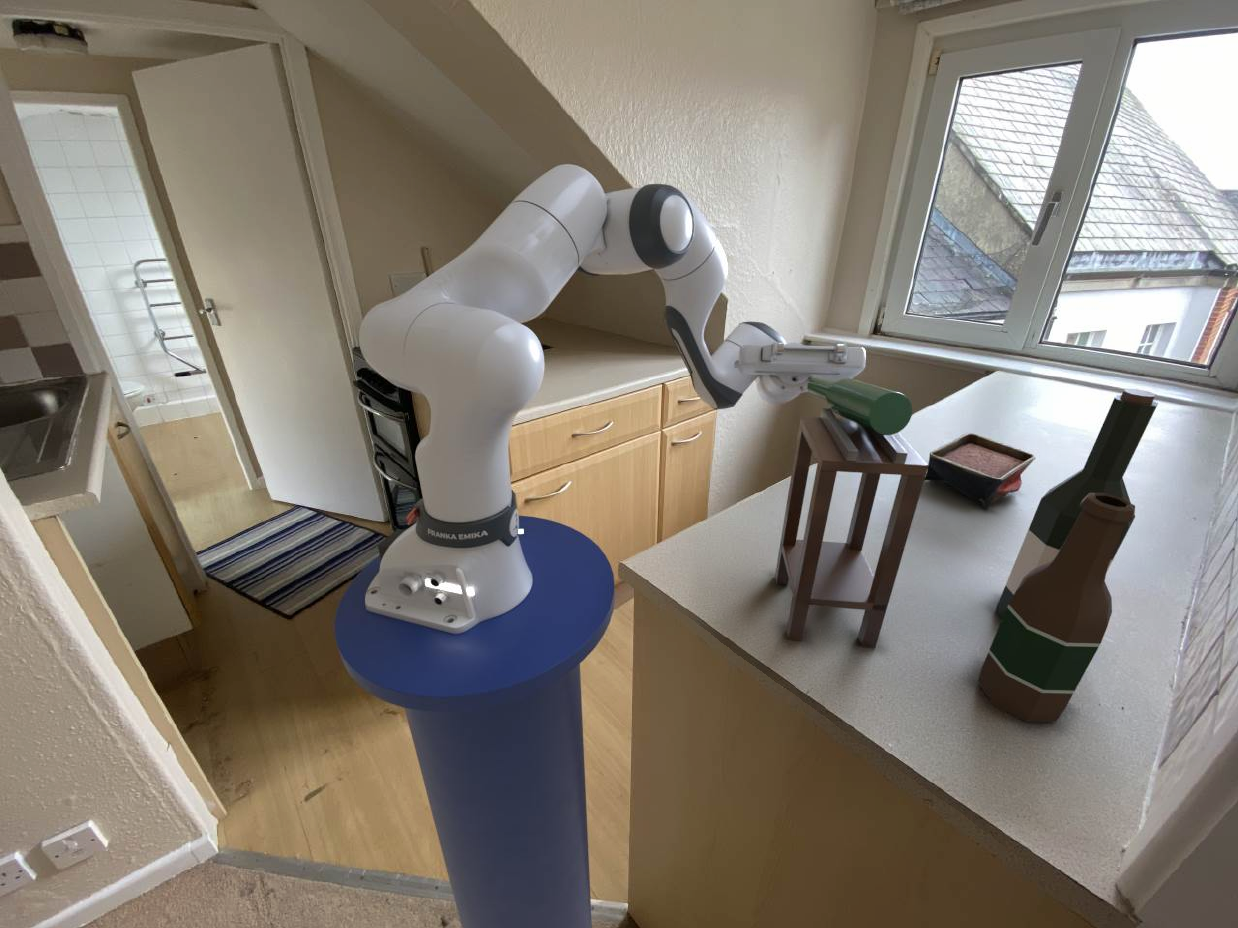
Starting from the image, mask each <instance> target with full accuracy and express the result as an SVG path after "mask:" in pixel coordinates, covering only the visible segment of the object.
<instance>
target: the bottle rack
mask: <svg viewBox="0 0 1238 928" xmlns="http://www.w3.org/2000/svg"><path fill="white" fill-rule="evenodd" d="M797 432H798V433H797V439H796V446H795V450H794V451H795V452H794V458H793V463H792V470H791V476H790V481H789V487H788V493H787V500H786V506H785V511H784V512H785V513H784V518H783V525H782V529H781V536H780V543H779V549H778V554H777V561H776V567H775V573H774V580H775V584H776V585H783V586H784V585H785V586H788V585H789V584H790V585H789V586H790V589H791V592H792V597H791V598H792V599H791V604H790V610H789V614H788V619H787V626H786V635H787V638H788V639H787V640H788V641H799V642H802V641H803V638H804V633H805V628H806V623H807V618H808V613H809V609H810V606H814V607H828V608H837V609H838V608H839V609H851V610H861V611H864V612H863V616H862V620H861V624H860V627H859V631H858V635H857V639H858V641H859V643H860V646H861V647H864V648H872V649H873V648H874V649H875V648H876V647H877V644H878V641H879V638H880V633H881V630H882V627H883V623H884V620H885V617H886V613H887V610H888V606H889V603H890V600H891V596H892V592H893V589H894V585H895V582H896V578H897V575H898V572H899V568H900V565H901V561H902V558H903V555H904V551H905V548H906V545H907V541H908V538H909V534H910V531H911V528H912V524H913V522H914V521H913V520H914V517H915V515H916V510H917V508H918V507H917V506H918V503H919V500H920V496H921V493H922V490H923V487H924V486H923V485H924V483H925V481H926V480H925V476H926V474H927V469H928V464H927V462H926V461H925V460H924V458H922V457H921V455H920V454H919V453H918V452H917V450H915V449H914V448H913V446H911V444H910V443H909V442H908V441H907V440H906V439H905V438H904V436H902V434H901V432H898V433H896V434H893V435H882V434H879V433H877V432H875V431H872V430H870V429H868V428H866V427H864V426H861V425H859V424H857V423H855V422H853V421H851V420H848V419H846V418H838V417H836V415H835V413H834V412H832V411H831V409H830V408H829V407H828V408H824V407H822V408H821V410H820V417H813V416H800V420H799V427H798V431H797ZM812 456H813V457H814V459H815V461H816V463H817V465H816V468H815V469H816V470H815V475H814V480H813V486H812V491H811V497H810V500H809V501H810V502H809V506H808V513H807V517H806V522H805V528H804V534H803V539H798V538H797V537H798V532H799V526H800V521H801V515H802V510H803V505H804V499H805V495H806V494H805V493H806V488H807V483H808V476H809V471H810V465H811V460H812ZM838 472H840V473H841V472H842V473H857V474H858V473H861V476H860V480H859V484H858V485H859V486H858V488H857V489H858V491H857V494H856V497H855V503H854V506H853V511H852V515H851V520H850V524H849V528H848V533H847V537H846V541H845V542H840V541H839V542H837V541H824V536H825V531H826V527H827V522H828V516H829V512H830V507H831V502H832V499H833V493H834V488H835V482H836V479H837V478H836V477H837V473H838ZM882 475H896V476H897V475H898V476H900V478H899V482H898V485H897V489H896V493H895V497H894V501H893V504H892V508H891V512H890V514H889V515H890V516H889V519H888V523H887V527H886V530H885V534H884V538H883V542H882V546H881V549H880V553H879V557H878V560H877V564H876V568H875V571H874V573H873V571H872V570H871V567H870V565H869V563H868V561H867V559H866V556H865V555H864V553H863V547H864V543H865V539H866V535H867V531H868V527H869V522H870V519H871V514H872V511H873V506H874V503H875V498H876V494H877V491H878V486H879V483H880V479H881V476H882Z"/></svg>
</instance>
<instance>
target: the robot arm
mask: <svg viewBox="0 0 1238 928" xmlns="http://www.w3.org/2000/svg"><path fill="white" fill-rule="evenodd" d="M727 258H728V257H727V255H726V252H725V249H724V247H723V245H722V243H721V240H720V239H719V237H718V236H717V234H716V233H715V231H714V229H713V228H712V226H711V224H710V222H709V221H708V220H707V218H706V217H705V215H704V214H703V212H702V211H701V210H700V209H699V207H698V206H697V205H696V204H695V203H694V202H693V200H692V199H691V198H690V197H689V196H688V195H687V194H686V193H685V192H684V191H683V190H682V189H680V188H678V187H675V186H673V185H670V184H665V183H648V184H645V185H643V186H641V187H633V188H626V189H621V190H613V191H611V192H607V193H605V191H604V189H603V186H602V185H601V183H600V182H599V181H598V179H597V178H596V177H595V176H594V175H593V174H592V173H591V172H589V171H588V170H587V169H586V168H584V167H582V166H579V165H576V164H570V163H565V164H564V163H563V164H558V165H556V166H555V167H552V168H551V169H550V170H548V171H546V172H544V173H543V174H542V175H540V176H539V177H538V178H537V179H535V180H534V181H533V182H531V183H530V184H529V185H528V186H527V187H525V188H524V189H523V190H522V191H520V193H519V194H518V195H517V196H515V198H514V199H513V200H512V201H511V202H510V203H509V204H508V205H507V206H506V207H505V209H503V210H502V212H501V213H500V214H499V215H498V216H497V217H496V219H494V221H492V223H491V224H490V225H489V226H488V227H487V228H486V229H485V230H484V231H483V232H482V234H481V235H480V236H479V237H478V238H477V239H476V240H475V241H474V242H473V243H472V244H471V245H469V247H468V248H467V249H465V250H464V251H462V252H461V253H459V255H457V256H456V257H454V258H453V259H452V260H451V261H449V262H448V263H446V264H445V265H443V266H442V267H440V268H438V269H437V270H436V271H434V272H433V273H432V274H430V275H429V276H427V277H426V278H424V279H423V280H421V281H420V282H419V283H417V284H415V285H414V286H413V287H412V288H410V289H408V290H407V291H405V292H403V293H401V294H400V295H397V296H395V297H393V298H391V299H388V300H386V301H382V302H380V303H378V304H376V305H374V306H373V307H372V308H371V309H370V310H369V311H368V312H367V313H366V314H365V316H364V318H363V319H362V321H361V324H360V327H359V333H358V343H359V348H360V349H359V350H360V351H361V355H362V356H363V358H364V360H365V361H366V364H368V366H370V368H371V369H372V370H374V371H375V372H376V373H377V374H379V375H380V376H381V377H382V378H384V379H385V380H387V381H388V382H389V383H390V384H392V385H393V386H396V387H398V388H401V389H403V390H406V391H410V392H413V393H415V394H418V395H421V396H425V398H426V400H427V402H428V403H429V404H428V405H429V408H430V425H429V433H428V434H427V435H425V437H423V438H422V439H421V440H420V442H419V443H418V444H417V446H416V449H415V454H414V458H415V464H416V469H417V475H418V480H419V484H420V490H421V495H422V498H420V499H419V500H418V501H417V502H416V503H414V505H413V509H412V510H411V511H410V512H409V514H407V516H406V520H408V521H407V525H408V526H410V525H411V524H412V523H413V522H414V521H415V520H416V521H415V523H413V524H412V525H411V526H410V527H408V528H407V529H400V528H397V529H395V531H394V532H392V533H391V534H390V535H388V537H386V538H385V539H383V540H382V541H381V542H380V543H378V545H377V550H378V554H379V555H380V558H381V564H380V570H379V573H378V574H377V575H376V577H375V578H374V579H373V581H372V582H371V584H370V586H369V588H368V590H367V592H366V596H365V606H366V610H368V611H370V612H374V613H377V614H381V615H385V616H389V617H392V618H396V619H400V620H404V621H407V622H411V623H415V624H419V625H422V626H426V627H430V628H434V629H437V630H441V631H445V632H448V633H452V634H460V633H463V632H465V631H467V630H469V629H470V628H472V627H473V626H475V625H476V624H478V623H479V622H482V621H484V620H487V619H490V618H493V617H496V616H499V615H501V614H503V613H506V612H507V611H509V610H511V609H513V608H514V607H516V606H517V605H518V604H519V603H521V602H522V601H523V600H524V599H525V597H526V596H527V595H528V593H529V591H530V589H531V587H532V582H533V578H532V574H531V571H530V569H529V568H528V565H527V563H526V561H525V558H524V555H523V552H522V549H521V545H520V541H519V537H518V534H523V529H519V516H520V515H519V510H518V506H517V505H518V504H517V498H516V494H515V491H514V490H513V489H512V480H511V479H512V478H511V467H510V451H509V450H510V449H509V448H510V447H509V445H510V437H511V431H512V427H513V424H514V421H515V419H516V417H517V415H518V414H519V412H520V411H522V410H523V409H525V408H526V407H527V406H528V405H529V404H531V402H532V401H533V400H534V398H535V397H536V396H537V394H538V393H539V391H540V388H541V386H542V383H543V380H544V376H545V367H546V365H545V364H546V363H545V354H544V350H543V346H542V344H541V341H540V340H539V338H538V337H537V335H536V334H535V333H534V331H533V330H532V329H530V328H529V327H528V326H527V325H525V324H523V323H527V322H529V321H532V320H533V319H536V318H537V317H539V316H541V314H543V313H544V312H545V311H546V310H547V309H548V307H549V306H550V305H551V303H552V302H553V301H555V299H556V297H557V296H558V294H560V292H561V291H562V289H563V288H564V287H565V285H567V283H568V282H569V280H570V279H571V278H572V277H573V275H574V274H575V273H577V274H581V275H584V276H589V277H590V276H592V277H599V276H602V275H606V276H607V275H609V276H611V275H632V274H638V273H642V272H646V271H650V270H654V271H655V273H656V275H657V276H658V277H659V279H660V281H661V284H662V287H663V289H664V290H663V291H664V295H665V307H664V312H663V317H664V321H665V324H666V327H667V329H668V331H669V334H670V336H671V338H672V340H673V342H674V345H675V347H676V349H677V351H678V353H679V355H680V357H681V359H682V361H683V363H684V365H685V368H686V369H687V371H688V373H689V375H690V380H691V384H692V387H693V389H694V391H695V393H696V395H697V396H698V398H699V399H700V400H701V401H702V402H703V403H704V404H706V406H709V407H710V408H711V409H714V410H725V409H730V408H733V407H735V406H736V404H737V403H738V402H739V401H740V399H741V398H742V397H743V395H744V393H745V392H746V390H748V389H749V387H750V386H751V385H752V384H753V383H754V381H755V384H756V391H757V394H758V396H759V397H760V399H761V400H763V401H764V402H765V403H768V404H771V405H784V404H787V403H789V402H791V401H793V400H794V399H796V398H797V397H799V396H800V395H801V394H804V393H809V391H808V388H807V386H808V383H809V381H810V380H811V379H812V378H815V377H820V378H823V379H826V380H829V381H832V382H837V381H839V380H841V379H846V378H850V379H854V378H855V377H857V376H859V375H860V374H861V373H862V372H863V371H864V370H865V368H866V362H867V352H866V349H865V348H864V347H862V346H848V343H845V342H844V343H843V342H841V343H840V342H836V343H835V344H834V345H805V344H803V343H798V342H786V340H785V339H784V337H783V336H781V334H780V333H779V332H778V331H776V330H775V329H774V328H772V327H771V326H770V325H768V324H766V323H764V322H761V321H742V322H739V323H738V324H737V326H736V327H735V328H734V329H733V330H732V331H730V333H729V334H728V336H727V337H726V338H725V339H724V340H723V342H722V343H721V344H720V346H719V347H717V348H716V350H715V351H714V352H713V353H712V355H711V353H710V351H709V349H708V347H707V344H706V342H705V338H704V336H705V328H706V325H707V322H708V319H709V317H710V315H711V312H712V311H713V309H714V307H715V304H716V303H717V301H718V299H719V297H720V295H721V293H722V291H723V290H724V287H725V285H726V281H727V277H728V273H729V264H728V260H727Z"/></svg>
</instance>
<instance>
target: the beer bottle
mask: <svg viewBox="0 0 1238 928" xmlns="http://www.w3.org/2000/svg"><path fill="white" fill-rule="evenodd" d="M1130 502H1131V501H1130ZM1130 502H1128V501H1127V500H1125V499H1123V498H1121V497H1118V496H1114V495H1111V494H1107V493H1089V494H1088V495H1087V496H1086V497H1085V498H1084V499H1083V500H1082V502H1081V504H1080V507H1081V508H1082V509H1083V510H1082V512H1081V513H1080V515H1079V517H1078V519H1077V521H1076V522H1075V524H1074V526H1073V528H1072V530H1071V531H1070V533H1069V535H1068V537H1067V539H1066V540H1065V542H1064V544H1063V546H1062V547H1061V549H1060V551H1059V552H1058V553H1057V555H1056V556H1055V557H1054V558H1053V560H1052V561H1051V562H1049V563H1046V564H1044V565H1042V566H1039V567H1037V568H1035V569H1033V570H1032V571H1031V572H1030V573H1029V574H1027V575H1026V576H1025V577H1024V578H1023V580H1022V582H1021V583H1020V585H1019V587H1018V588H1017V590H1016V592H1015V594H1014V595H1013V597H1012V599H1011V601H1010V603H1009V604H1008V607H1007V609H1006V612H1005V614H1004V616H1003V619H1001V621H1000V623H999V626H998V628H997V631H996V632H995V636H994V637H993V640H992V642H991V645H990V646H989V649H988V652H987V653H986V657H985V658H984V661H983V664H982V665H981V668H980V672H979V674H978V677H977V683H978V685H979V686H980V687H981V689H982V690H983V692H984V693H985V695H986V696H987V698H988V699H989V700H990V702H991V703H992V705H993V706H996V707H997V708H999V709H1001V710H1003V711H1004V712H1005V713H1008V714H1010V715H1012V716H1013V717H1015V718H1017V719H1019V720H1021V721H1023V722H1024V723H1052V724H1053V723H1057V721H1058V720H1059V718H1060V717H1061V715H1062V714H1063V712H1064V711H1065V709H1066V708H1067V706H1068V704H1069V702H1070V700H1071V698H1072V697H1073V695H1074V694H1075V691H1076V690H1077V687H1078V686H1079V684H1080V682H1081V681H1082V678H1083V677H1084V676H1085V673H1086V671H1087V670H1088V667H1089V666H1090V664H1091V662H1092V660H1093V659H1094V657H1095V655H1096V654H1097V652H1098V649H1099V648H1100V646H1101V644H1102V642H1103V639H1104V636H1105V634H1106V631H1107V629H1108V626H1109V623H1110V620H1111V617H1112V614H1113V613H1112V612H1113V604H1112V601H1113V600H1112V598H1113V597H1112V595H1111V593H1110V590H1109V588H1108V585H1107V584H1106V577H1107V573H1108V571H1107V568H1108V566H1109V563H1110V561H1111V558H1112V556H1113V553H1114V551H1115V548H1116V546H1117V544H1118V541H1119V539H1120V536H1121V534H1122V531H1123V529H1124V526H1125V524H1126V522H1132V521H1133V522H1134V520H1133V518H1134V515H1135V516H1136V514H1135V513H1136V505H1135V504H1133V503H1132V502H1131V503H1130ZM1134 519H1135V518H1134ZM1133 522H1132V523H1133Z"/></svg>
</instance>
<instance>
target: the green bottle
mask: <svg viewBox="0 0 1238 928" xmlns="http://www.w3.org/2000/svg"><path fill="white" fill-rule="evenodd" d="M807 388H808V393H809V394H810V395H813V396H815V397H817V398H820V399H822V400H825V401H826V402H827V406H828V409H831V411H832V412H833V414H834V415H835V414H836V415H838V416H840V417H842V418H843V419H848V420H851V421H853V422H855V423H857V424H859V425H861V426H864V427H866V428H868V429H870V430H872V431H875V432H877V433H879V434H882V435H893V434H896V433H898V432H899V433H901V432H902V431H903V430H904V429H905V428H907V426H908V424H909V423H910V421H911V419H912V415H913V405H912V402H911V400H910V399H909V397H908V396H906V395H905V394H903V393H901V392H898V391H895V390H891V389H888V388H885V387H881V386H878V385H874V384H872V383H867V382H864V381H861V380H858V379H854V378H852V379H850V378H846V379H841V380H839V381H837V382H832V381H829V380H826V379H823V378H820V377H815V378H812V379H811V380H810V381H809V383H808V386H807Z"/></svg>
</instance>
